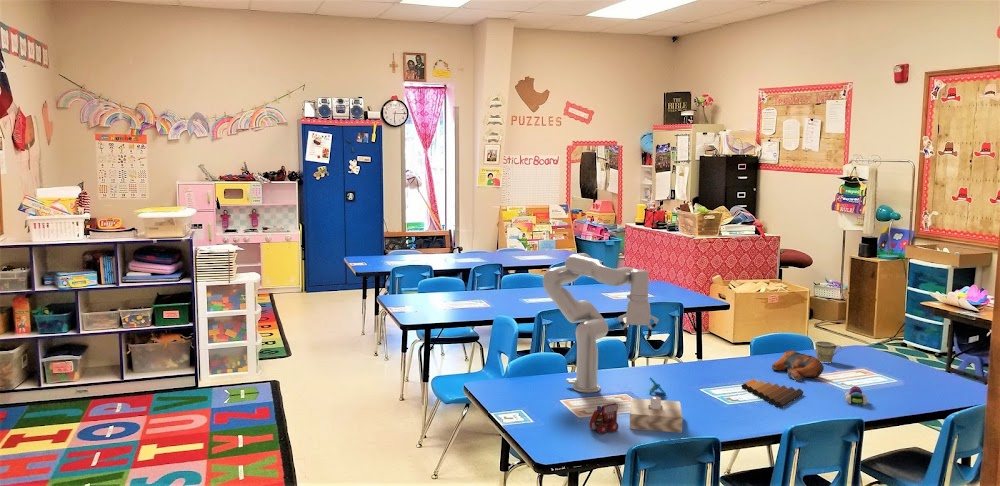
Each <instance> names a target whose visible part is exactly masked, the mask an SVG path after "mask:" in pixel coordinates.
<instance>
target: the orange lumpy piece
mask: <svg viewBox="0 0 1000 486" xmlns="http://www.w3.org/2000/svg"><path fill="white" fill-rule="evenodd" d="M824 369H825V368H824V365H823V363H821V362H820V361H819V360H818V359H817V357H816V356H812V355H810V354H809V355H808V354H805V353H800V352H797V351H795V350H787V351H784V354H783V355H782V356H781V358H779V359H778V360H777V361H775V362H774V363H772V364H771V370H773V371H774V370H778V371H782V370H783V371H784V370H786V371H787V376H788V378H789V377H790V378H789V379H792V380H793V379H794V380H796V381H795V382H801V381H802V380H803V379H802V378H814V377H815V378H816V377H820V376H821V374H822V373H823V372H824ZM794 380H793V381H794Z"/></svg>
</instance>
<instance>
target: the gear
mask: <svg viewBox="0 0 1000 486" xmlns="http://www.w3.org/2000/svg"><path fill="white" fill-rule="evenodd" d="M649 380H650V381H651V382H652V383H653V384H652V387H651V388H650V389H649V392H648V394H650V395H652V394H653V393H654V392H655V391H657V390H659V391H660V392H661V393H662V394H664V395H665V396H666V394H667V393H666V391H665V390H664V389H663V388H662V387H661V384H659V383H657V382H656V381H655V380H654V379H653V378H652V377H650V378H649Z"/></svg>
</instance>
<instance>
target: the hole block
mask: <svg viewBox="0 0 1000 486" xmlns="http://www.w3.org/2000/svg"><path fill="white" fill-rule="evenodd" d="M629 404H630V407H629V409H630V410H629V429H630V430H639V431H643V430H644V431H655V432H668V433H683V412H682V411H683V410H682V405H681V402H680V401H678V400H677V401H676V400H662V399H661V409H660V410H651V409H650V404H651V398H650V399H649V398H647V399H646V398H634V397H630V403H629Z"/></svg>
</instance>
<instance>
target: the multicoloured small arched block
mask: <svg viewBox="0 0 1000 486" xmlns="http://www.w3.org/2000/svg"><path fill="white" fill-rule="evenodd" d="M844 399H845V402H846V403H847V404H849V405H851V403H852V402H853V403H859V404H860V403H861V405H862V406H865V405H866V406H867V404H868V397H867V396H866V394H865V393H863V391H862V389H861V387H859V386H856V385H853V386H852V387H851V388H850V391H848V392H847V391H846V392H845V393H844Z"/></svg>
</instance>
